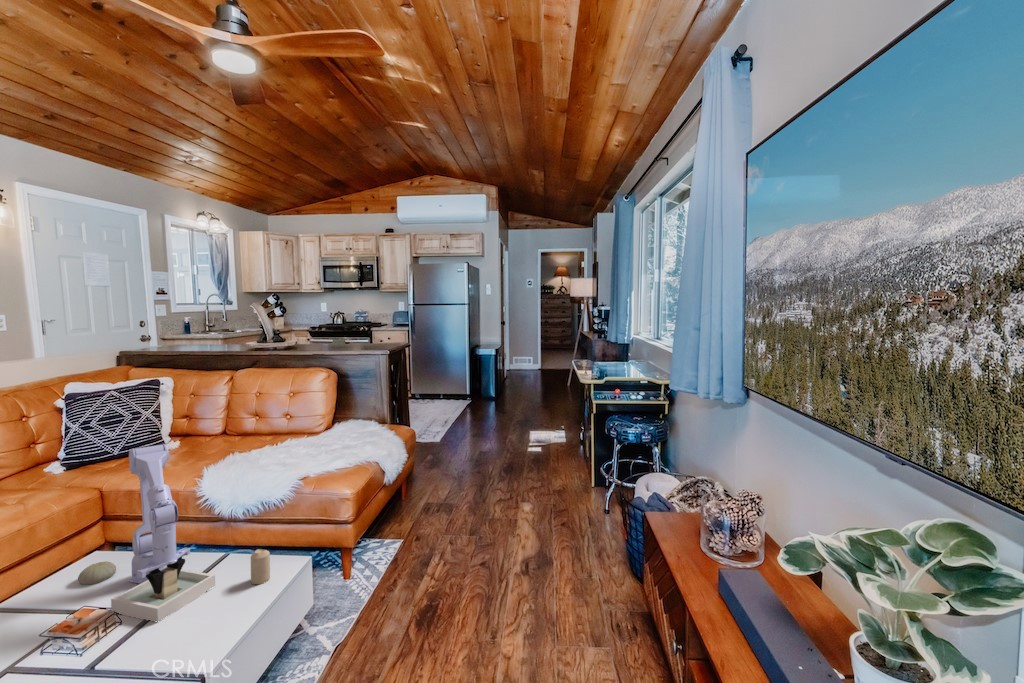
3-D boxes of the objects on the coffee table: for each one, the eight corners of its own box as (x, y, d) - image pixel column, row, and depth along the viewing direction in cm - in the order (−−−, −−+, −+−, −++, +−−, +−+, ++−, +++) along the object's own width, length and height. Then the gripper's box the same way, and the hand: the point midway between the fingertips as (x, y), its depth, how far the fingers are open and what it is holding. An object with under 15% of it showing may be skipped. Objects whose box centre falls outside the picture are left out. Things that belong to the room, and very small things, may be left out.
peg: (154, 599, 135) (153, 574, 135) (167, 592, 139) (167, 567, 139) (164, 601, 134) (163, 575, 134) (177, 594, 138) (177, 568, 138)
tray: (111, 612, 130) (111, 599, 130) (172, 579, 147) (172, 567, 147) (157, 622, 125) (157, 608, 125) (215, 587, 143) (215, 574, 143)
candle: (273, 575, 149) (273, 546, 149) (262, 585, 144) (262, 554, 143) (258, 575, 150) (257, 545, 149) (247, 584, 144) (246, 554, 144)
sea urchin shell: (123, 569, 150) (101, 560, 145) (102, 593, 146) (78, 585, 141) (114, 561, 155) (91, 553, 150) (93, 585, 151) (69, 577, 146)
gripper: (149, 558, 128) (150, 604, 128) (196, 535, 142) (197, 577, 142) (131, 555, 130) (132, 600, 130) (180, 533, 144) (180, 574, 144)
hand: (165, 588), depth 136 cm, fingers open, 4 cm apart
